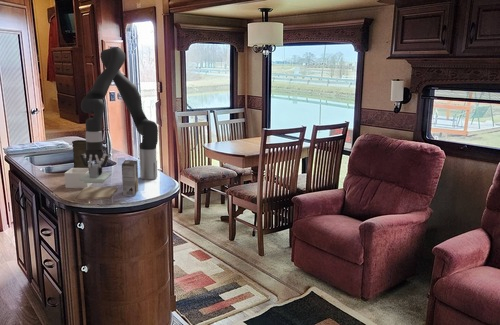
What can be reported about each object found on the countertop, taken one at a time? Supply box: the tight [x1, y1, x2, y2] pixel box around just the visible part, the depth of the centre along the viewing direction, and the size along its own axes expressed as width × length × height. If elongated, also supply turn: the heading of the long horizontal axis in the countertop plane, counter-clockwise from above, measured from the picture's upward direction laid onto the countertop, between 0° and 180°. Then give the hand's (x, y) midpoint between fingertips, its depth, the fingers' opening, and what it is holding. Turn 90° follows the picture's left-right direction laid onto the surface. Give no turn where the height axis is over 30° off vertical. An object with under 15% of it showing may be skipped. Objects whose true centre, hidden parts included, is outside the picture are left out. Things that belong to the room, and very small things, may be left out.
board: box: [74, 186, 118, 200], centre depth 208 cm, size 16×16×1 cm
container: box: [71, 139, 89, 168], centre depth 250 cm, size 9×9×18 cm
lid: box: [79, 163, 112, 184], centre depth 206 cm, size 12×12×8 cm
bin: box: [64, 167, 94, 189], centre depth 221 cm, size 11×11×8 cm
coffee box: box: [121, 159, 139, 197], centre depth 210 cm, size 9×6×16 cm
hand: (95, 174), depth 206 cm, fingers closed on lid, 3 cm apart
